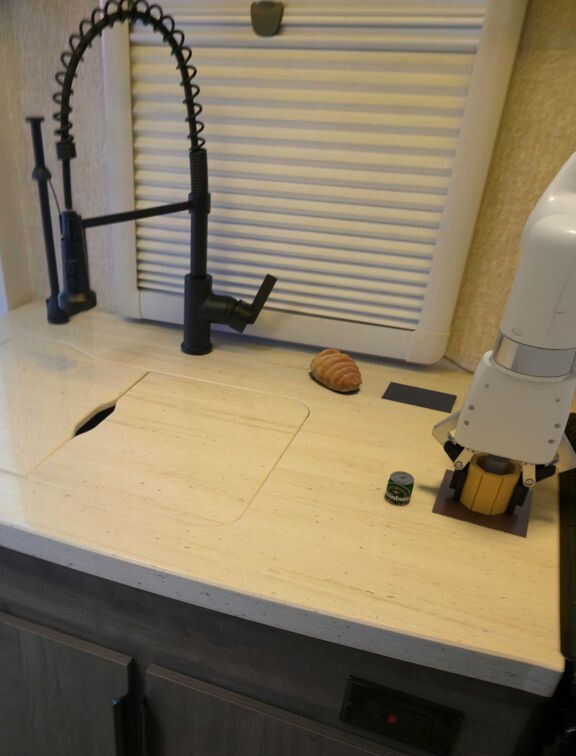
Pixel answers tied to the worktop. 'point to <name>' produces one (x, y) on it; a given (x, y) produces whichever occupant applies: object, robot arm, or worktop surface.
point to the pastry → (336, 370)
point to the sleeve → (488, 487)
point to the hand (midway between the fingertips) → (483, 499)
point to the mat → (420, 397)
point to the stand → (499, 522)
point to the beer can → (399, 488)
